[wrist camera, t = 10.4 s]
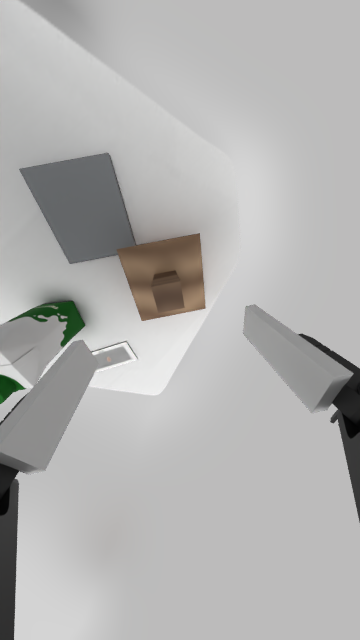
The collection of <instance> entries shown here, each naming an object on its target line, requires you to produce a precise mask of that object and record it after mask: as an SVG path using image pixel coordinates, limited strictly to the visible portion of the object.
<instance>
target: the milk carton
mask: <svg viewBox="0 0 360 640" xmlns="http://www.w3.org/2000/svg"><path fill="white" fill-rule="evenodd" d="M84 326H85V324H84V322H83V320H82V318H81V316H80V314H79V312H78V310H77V308H76V306H75V304H74V302H73V301H68V302H59V303H50V304H42V305H40V306H37V307H35V308H32V309H30V310H29V311H27V312H25V313H23V314H21V315H19V316H17V317H15V318H13V319H11V320H9V321H8V322H6V323H4V324H2V325H0V404H1V403H3V402H4V401H5V400H6V399H7V398H8V397H9V396H10V395H11V394H12V393H13V392H16V391H18V390H23V389H26V388H33V387H34V386H35V385H36V383H37V381H38V380H39V378H40V376H41V375H42V373H43V371H44V369H45V368H46V366H47V365H48V364H49V362H50V361H51V360H52V359H53V358H54V357H55V356H56V355H57V354H58V353H59V352H60V350H61V349H62V348H63V347H64V346H65V345H66V344H67V343H68V342H69V341H70V340H71V339H72V338H73V337H74V336H75V335H76V334H77V333H78V332H79V331H80V330H81V329H82V328H83V327H84Z"/></svg>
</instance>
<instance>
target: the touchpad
mask: <svg viewBox="0 0 360 640" xmlns="http://www.w3.org/2000/svg"><path fill="white" fill-rule="evenodd" d="M92 354H93V356H94V357H95V359H96V360H97V362H98V363H99V365H98V367H97V369H96V371H95V373H96V372H100V371H103V370H106V369H110V368H113V367H116V366H119V365H123V364H126V363H129V362H133V361H136V360H138V359H137V358H136V356H135V355H134V353H133V352H132V350H131V349H130V347H129V346H128V344H127V342H124V343H121V344H118V345H114V346H111V347H108V348H105V349H102V350H98V351H95V352H92Z"/></svg>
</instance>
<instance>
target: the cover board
mask: <svg viewBox="0 0 360 640" xmlns="http://www.w3.org/2000/svg"><path fill="white" fill-rule="evenodd" d="M116 250H117V253H118V255H119V258H120V261H121V264H122V267H123V269H124V272H125V275H126V278H127V281H128V283H129V286H130V289H131V292H132V295H133V297H134V300H135V303H136V306H137V309H138V311H139V314H140V317H141V320H142V321H145V320H150V319H155V318H160V317H165V316H170V315H175V314H180V313H185V312H190V311H195V310H200V309H205V295H204V282H203V269H202V256H201V243H200V233H199V234H194V235H188V236H183V237H178V238H173V239H167V240H162V241H157V242H152V243H147V244H141V245H136V246H131V247H126V248H120V249H116Z"/></svg>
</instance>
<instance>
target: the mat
mask: <svg viewBox="0 0 360 640" xmlns="http://www.w3.org/2000/svg"><path fill="white" fill-rule="evenodd" d="M19 170H20V172H21V174H22V176H23V177H24V179H25V181H26V183H27V185H28V187H29V189H30V190H31V192H32V194H33V196H34V198H35V200H36V202H37V204H38V205H39V207H40V209H41V211H42V213H43V215H44V217H45V218H46V220H47V222H48V224H49V226H50V228H51V230H52V231H53V233H54V235H55V237H56V239H57V241H58V243H59V244H60V246H61V248H62V250H63V252H64V254H65V256H66V258H67V259H68V261H69V263H70V264H72V263H77V262H82V261H87V260H93V259H98V258H103V257H108V256H113V255H118V253H117V250H116V249H120V248H126V247H131V246H136V244H135V241H134V237H133V234H132V230H131V227H130V223H129V220H128V216H127V213H126V210H125V206H124V203H123V199H122V196H121V192H120V189H119V185H118V182H117V178H116V175H115V172H114V168H113V165H112V161H111V158H110V155H109V154H108V153H104V154H99V155H93V156H88V157H82V158H77V159H71V160H66V161H60V162H55V163H49V164H44V165H39V166H33V167H28V168H22V169H19Z"/></svg>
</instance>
